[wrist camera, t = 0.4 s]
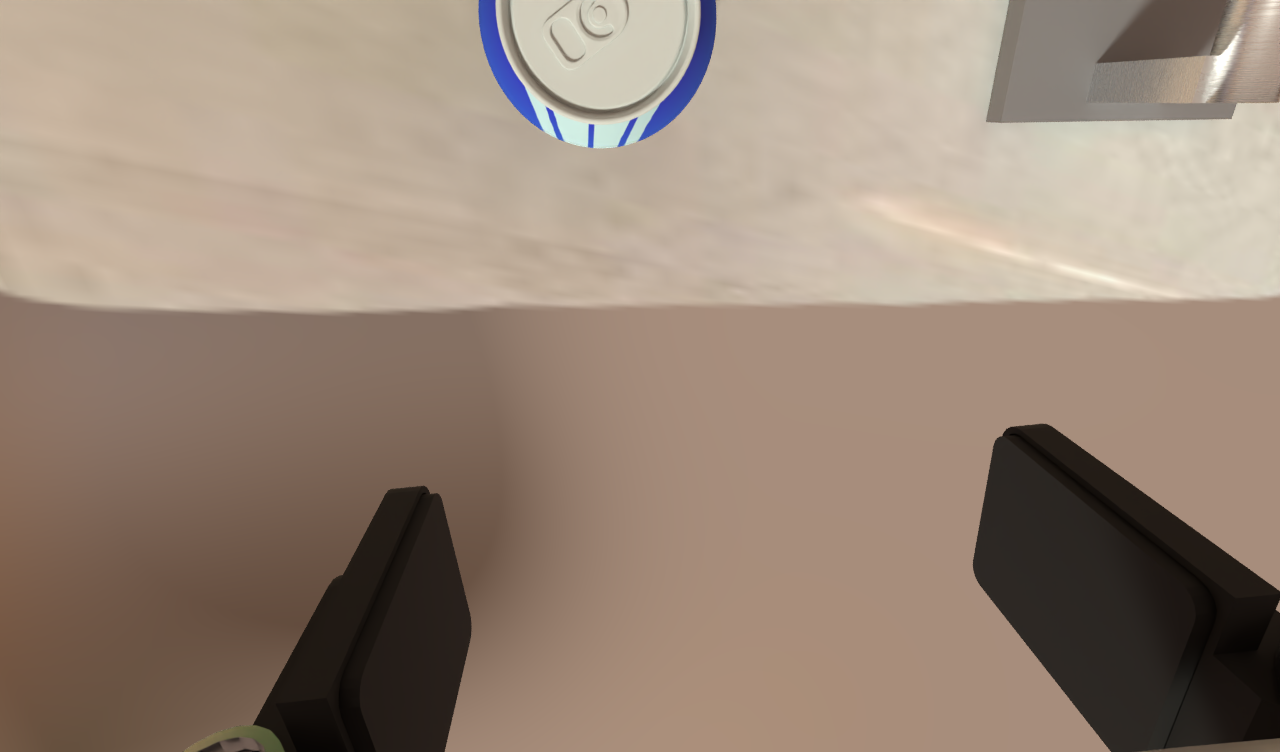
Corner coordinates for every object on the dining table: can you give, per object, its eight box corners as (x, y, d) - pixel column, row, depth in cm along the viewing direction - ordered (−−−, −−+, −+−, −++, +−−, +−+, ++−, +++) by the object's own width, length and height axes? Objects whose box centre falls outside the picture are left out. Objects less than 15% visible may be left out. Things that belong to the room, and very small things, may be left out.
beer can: (521, -49, 33) (461, -169, 18) (681, -31, 33) (747, -132, 19) (520, 125, 36) (468, 142, 21) (665, 137, 37) (711, 162, 22)
